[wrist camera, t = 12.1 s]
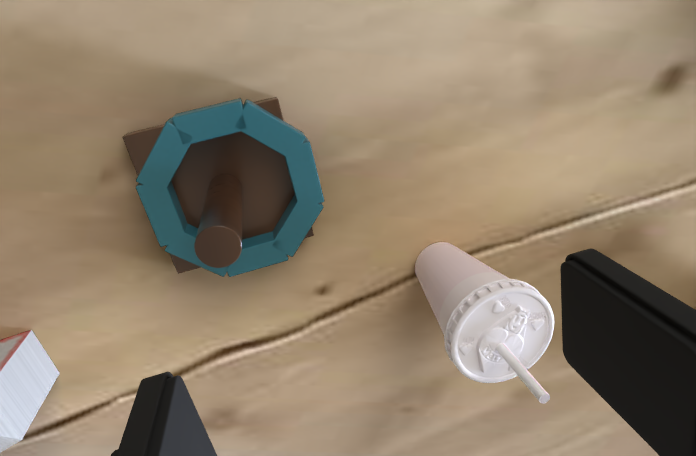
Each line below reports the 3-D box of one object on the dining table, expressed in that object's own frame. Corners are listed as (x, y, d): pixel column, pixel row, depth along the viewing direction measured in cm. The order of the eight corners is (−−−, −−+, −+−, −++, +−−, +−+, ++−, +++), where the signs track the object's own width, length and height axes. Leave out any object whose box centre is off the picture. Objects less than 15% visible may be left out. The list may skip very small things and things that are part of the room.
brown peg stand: (276, 96, 28) (292, 119, 19) (311, 229, 32) (339, 303, 22) (126, 133, 27) (65, 176, 18) (180, 266, 31) (152, 360, 21)
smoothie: (382, 286, 35) (463, 425, 22) (424, 211, 33) (539, 313, 20) (450, 312, 37) (561, 453, 24) (493, 243, 35) (635, 354, 22)
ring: (293, 84, 27) (296, 86, 26) (331, 237, 31) (336, 246, 30) (119, 127, 26) (112, 132, 24) (182, 280, 30) (179, 292, 28)
